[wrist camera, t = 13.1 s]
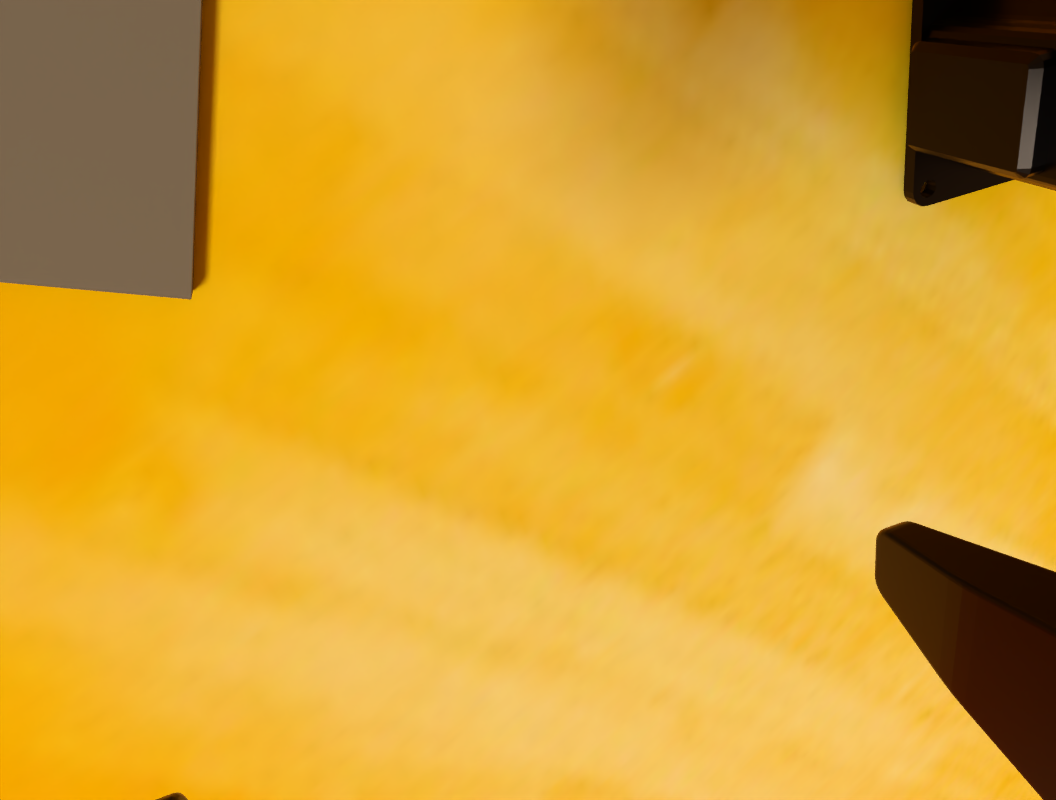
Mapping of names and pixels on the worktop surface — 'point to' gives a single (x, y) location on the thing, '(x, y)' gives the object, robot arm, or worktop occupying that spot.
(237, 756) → the worktop surface
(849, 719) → the worktop surface
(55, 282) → the mat
